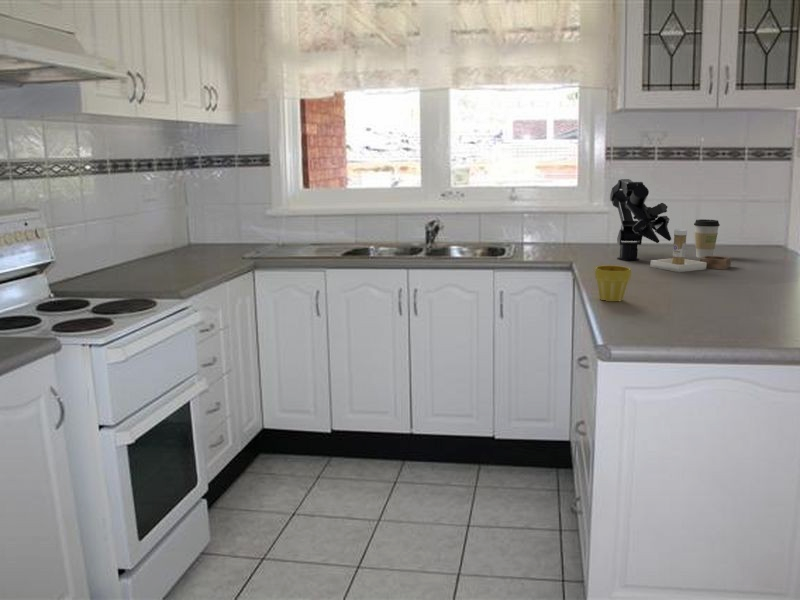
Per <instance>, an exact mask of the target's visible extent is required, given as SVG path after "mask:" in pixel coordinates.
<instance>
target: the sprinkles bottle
mask: <svg viewBox="0 0 800 600" xmlns="http://www.w3.org/2000/svg"><path fill="white" fill-rule="evenodd" d="M687 235H688V230H687V229H684V228H683V229H682V228H678V229H677V228H675V229H674V230H673V237H674V238H673V247H672V258H673V260H672V264H677V265H683V264H684V261H685V259H686V249H687Z"/></svg>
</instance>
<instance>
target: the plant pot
mask: <svg viewBox="0 0 800 600" xmlns="http://www.w3.org/2000/svg"><path fill="white" fill-rule="evenodd" d="M631 274H632V268H630V267H628V266H623V265H615V264H614V265H611V264H610V265H609V264H605V265H602V264H601V265H598V266H596V267H595V269H594V279H596V281H597V282H596V283H597V288H598V295H599V300H600V299H601V300H600V301H602V300H606V301H605V302H607V301H619V300H622V299H623V300H624V295H625V293H626V290H627V286H628V282H629V281H630V280H631V276H632V275H631ZM623 300H622V301H623ZM619 302H620V301H619Z"/></svg>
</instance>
